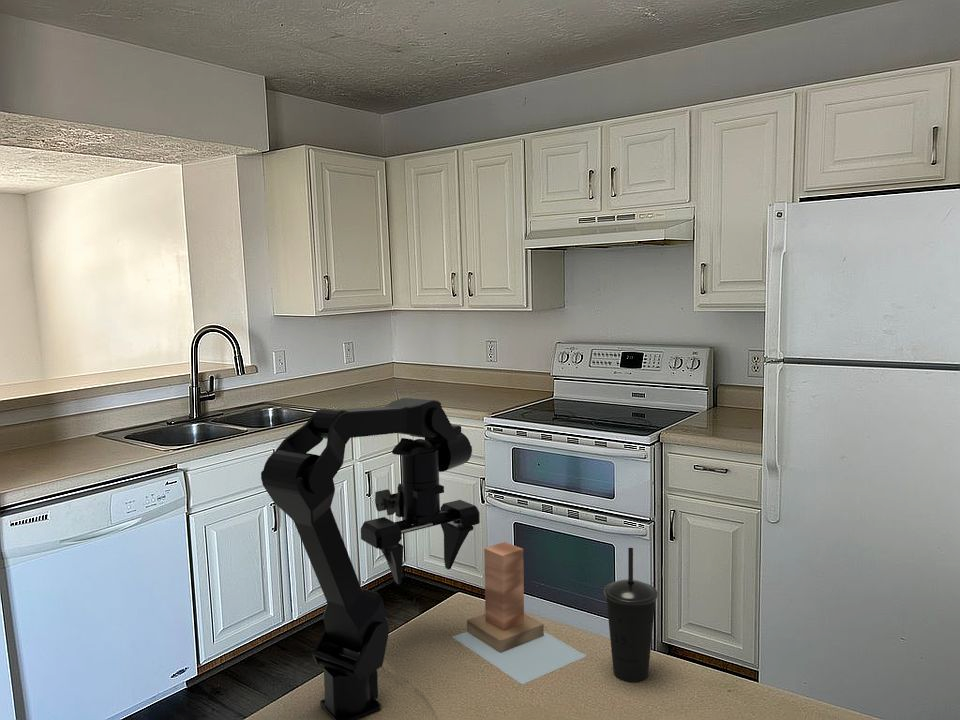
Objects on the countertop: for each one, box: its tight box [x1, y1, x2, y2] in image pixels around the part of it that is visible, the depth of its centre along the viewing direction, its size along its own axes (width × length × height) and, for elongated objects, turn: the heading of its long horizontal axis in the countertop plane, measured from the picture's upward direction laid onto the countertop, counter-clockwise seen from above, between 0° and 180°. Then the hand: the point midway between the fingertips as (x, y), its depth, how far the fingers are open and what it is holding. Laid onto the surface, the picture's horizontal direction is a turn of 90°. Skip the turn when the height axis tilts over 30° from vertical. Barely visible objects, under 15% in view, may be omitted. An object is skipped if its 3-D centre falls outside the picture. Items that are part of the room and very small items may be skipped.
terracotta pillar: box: [483, 541, 525, 631], centre depth 118 cm, size 4×4×12 cm
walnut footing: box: [466, 613, 545, 653], centre depth 119 cm, size 9×9×2 cm
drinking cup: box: [603, 547, 659, 684], centre depth 105 cm, size 8×8×20 cm
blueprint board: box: [452, 631, 588, 685], centre depth 115 cm, size 13×18×1 cm
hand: (423, 575), depth 113 cm, fingers open, 9 cm apart
